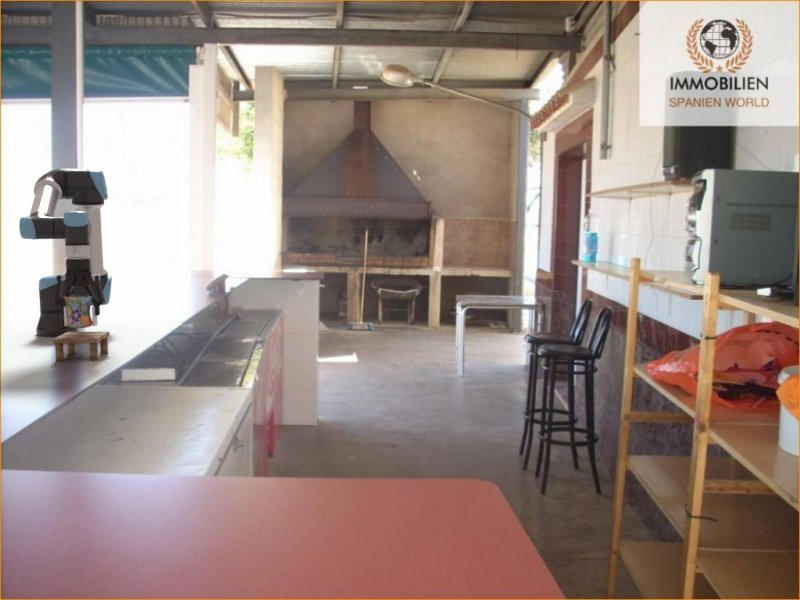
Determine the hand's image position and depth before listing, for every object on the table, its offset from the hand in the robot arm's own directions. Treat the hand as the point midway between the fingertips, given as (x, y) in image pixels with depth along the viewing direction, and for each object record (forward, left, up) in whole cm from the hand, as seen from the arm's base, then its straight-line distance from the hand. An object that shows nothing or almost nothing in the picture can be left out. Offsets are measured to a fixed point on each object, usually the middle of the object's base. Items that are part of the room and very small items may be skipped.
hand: (81, 325), depth 256 cm
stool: (0, 0, -11) cm, 11 cm away
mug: (0, -1, -1) cm, 1 cm away
